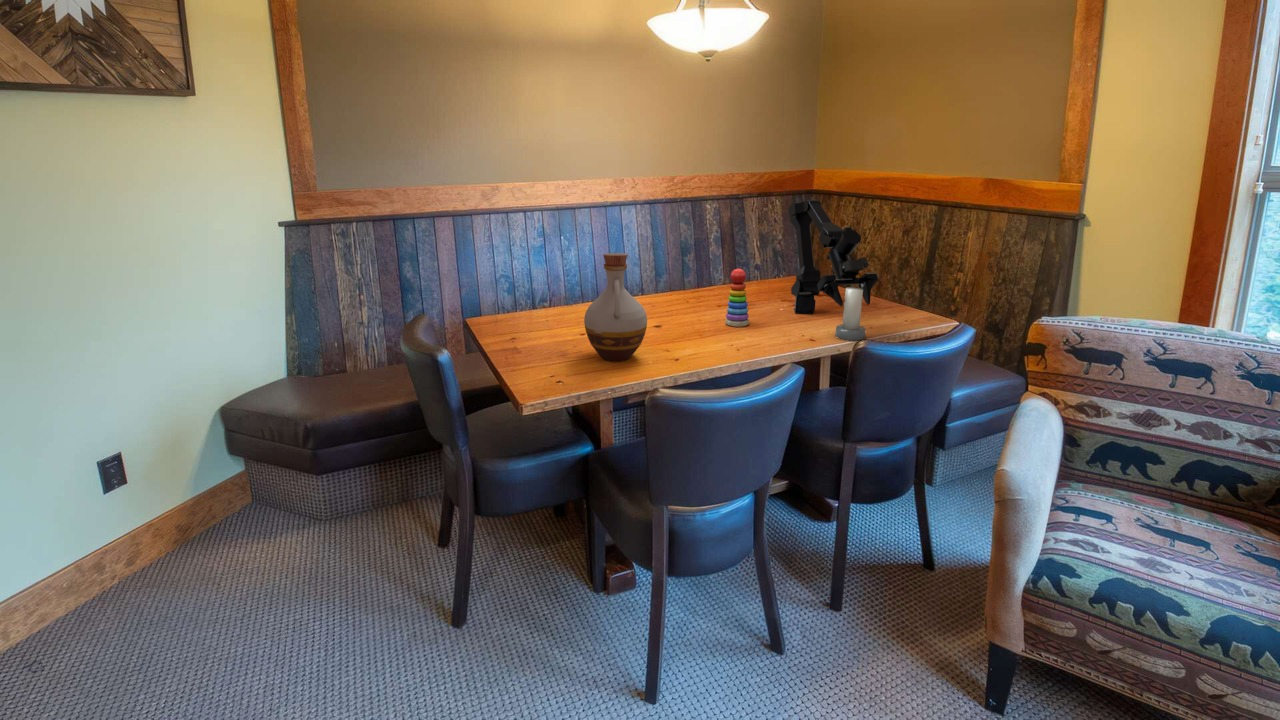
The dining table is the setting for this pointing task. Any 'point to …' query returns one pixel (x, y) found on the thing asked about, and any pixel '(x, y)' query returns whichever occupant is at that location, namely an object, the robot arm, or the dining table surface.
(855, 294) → the tapered white cylinder
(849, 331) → the plinth
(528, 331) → the dining table surface
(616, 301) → the jug
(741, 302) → the stacking toy
